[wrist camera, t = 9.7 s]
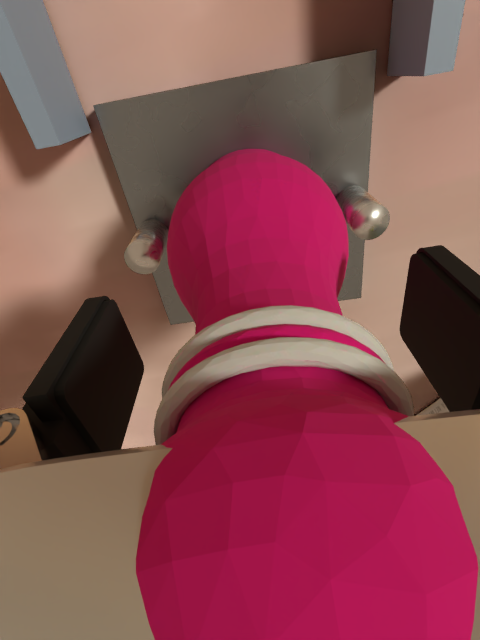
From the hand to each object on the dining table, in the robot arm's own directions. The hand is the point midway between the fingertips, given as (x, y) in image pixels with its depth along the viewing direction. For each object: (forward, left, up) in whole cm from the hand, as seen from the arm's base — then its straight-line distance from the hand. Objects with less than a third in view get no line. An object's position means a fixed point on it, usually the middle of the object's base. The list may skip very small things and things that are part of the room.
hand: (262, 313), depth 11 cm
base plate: (0, 0, -10) cm, 10 cm away
